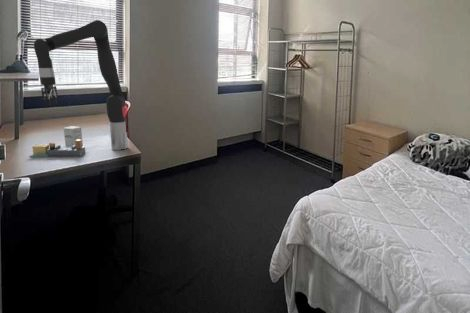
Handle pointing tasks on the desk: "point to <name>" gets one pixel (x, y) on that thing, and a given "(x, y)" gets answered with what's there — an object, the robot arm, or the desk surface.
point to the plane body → (66, 150)
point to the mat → (38, 156)
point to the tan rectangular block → (40, 149)
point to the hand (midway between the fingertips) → (51, 104)
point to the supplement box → (72, 135)
